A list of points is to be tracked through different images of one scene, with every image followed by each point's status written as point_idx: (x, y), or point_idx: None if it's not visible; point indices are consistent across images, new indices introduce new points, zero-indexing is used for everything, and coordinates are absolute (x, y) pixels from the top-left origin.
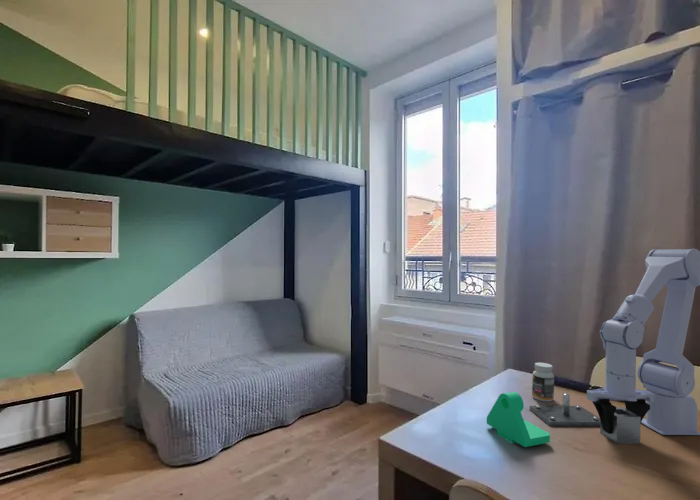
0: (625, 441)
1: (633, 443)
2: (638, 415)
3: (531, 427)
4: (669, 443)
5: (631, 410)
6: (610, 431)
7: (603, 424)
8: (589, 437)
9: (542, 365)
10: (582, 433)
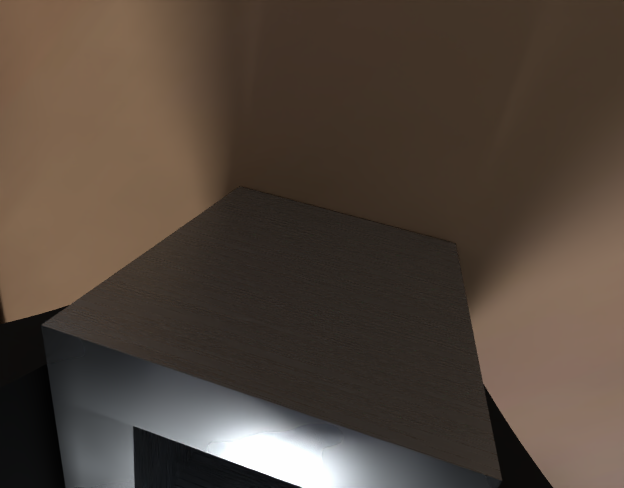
0: (370, 228)
1: (297, 203)
2: (39, 368)
3: None
4: (6, 131)
5: (40, 486)
6: None
7: None
8: (583, 390)
9: None
10: (563, 446)
